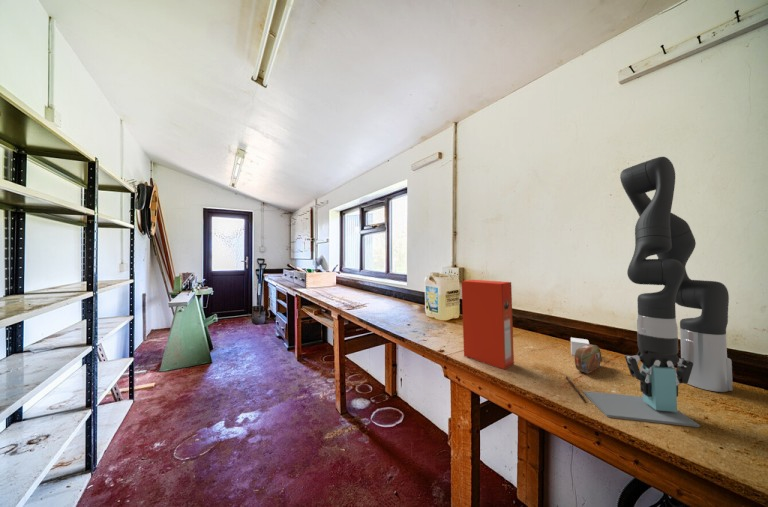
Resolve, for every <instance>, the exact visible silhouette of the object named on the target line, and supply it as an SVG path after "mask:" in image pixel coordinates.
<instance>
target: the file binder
mask: <svg viewBox="0 0 768 507" xmlns="http://www.w3.org/2000/svg"><path fill="white" fill-rule="evenodd" d="M512 296H513V295H512V282H511V281H497V280H482V279H481V280H480V279H466V280H462V281H461V298H462V300H461V301H462V332H463V333H462V334H463V336H462V337H463V338H462V339H463V357H465V356H467V357H466V358H468V357H470V358H469V359H471V358H473V359H472V360H474V359H475V361H477V360H478V361H477V362H480V361H481V362H480V363H483V362H484V363H483V364H486V365H489V366H493V367H494V368H498V369H501V370H506V369H508V368H510V367H512V366H513V365H514V363H515V360H514V357H515V356H514V355H515V354H514V330H513V329H514V328H513V327H514V326H513V325H514V324H513V297H512Z"/></svg>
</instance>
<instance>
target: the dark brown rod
mask: <svg viewBox="0 0 768 507" xmlns="http://www.w3.org/2000/svg"><path fill="white" fill-rule="evenodd" d="M565 379H566V381H567V382H568V383H569V384H570V385H571V388H573V390H574V391H575V392H576V394H577V395H578V396H579V397H580V399H581V400H582V401H583V403H584V404H586V403H587V400H586V398H585V397H584V396H583V394H582V393H581V392H580V391H579V389H578V388H577V387H576V385H574V383H573V382H572V381H571V380H570V378H569V377H568V376H565Z"/></svg>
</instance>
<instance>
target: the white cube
mask: <svg viewBox="0 0 768 507" xmlns="http://www.w3.org/2000/svg"><path fill="white" fill-rule="evenodd" d="M587 344H590V342H589V340H588V339H586V338H585V339H584V338H577V337H570V353H571V356H573V357H574V356H575V352H576V350H577V349H578V348H580V347H583V346H585V345H587Z"/></svg>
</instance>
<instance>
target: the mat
mask: <svg viewBox="0 0 768 507" xmlns="http://www.w3.org/2000/svg"><path fill="white" fill-rule="evenodd" d="M582 393H583V395H584V396H586V398H587V399H588V400H590V402H591V403H593V405H595V406H596V408H598V410H599V411H600V412H601V413H602V414H604V416H605V417H606V418H613V419H621V420H630V421H640V422H649V423H657V424H666V425H675V426H676V425H677V426H685V427H691V428H692V427H694V428H701V427H700V424H699V423H697V422H696V421H694V420H693V419H691V418H690V417H688V416H687V415H686V414H684V413H683V412H681V411H679V410H678V409H677V412H671V411H661V410H655V409H654V408H652V407H651V406H650V405H648V404H647V403H646V402H644V401H643V395H641V396H639V395H630V394H620V393H619V394H618V393H607V392H598V391H589V390H588V391H586V390H583V392H582Z"/></svg>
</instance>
